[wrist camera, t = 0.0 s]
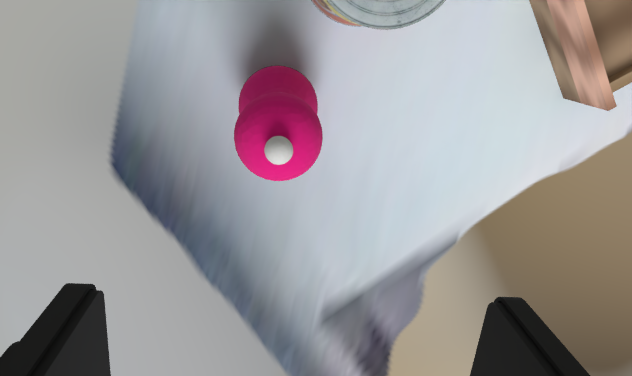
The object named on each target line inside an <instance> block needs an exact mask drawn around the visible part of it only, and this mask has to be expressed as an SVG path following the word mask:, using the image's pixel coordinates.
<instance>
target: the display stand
mask: <svg viewBox="0 0 632 376" xmlns="http://www.w3.org/2000/svg"><path fill="white" fill-rule="evenodd" d="M529 1H530V4H531V6H532V9H533V12H534V15H535V18H536V21H537V24H538V27H539V29H540V32H541V35H542V38H543V41H544V44H545V47H546V49H547V52H548V55H549V58H550V61H551V64H552V67H553V69H554V72H555V75H556V78H557V81H558V84H559V87H560V90H561V92H562V95H563V98H565V99H568V100H572V101H575V102H579V103H582V104H586V105H589V106H593V107H597V108H600V109H604V110H607V111H609V110H611V109H613V108H615V107H616V103H615V100H614V97H613V92H614V91H616V90H618V89H620V88H622V87H624V86H626V85H627V84H629V83H631V82H632V0H529Z"/></svg>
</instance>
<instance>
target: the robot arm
mask: <svg viewBox="0 0 632 376" xmlns="http://www.w3.org/2000/svg"><path fill="white" fill-rule="evenodd" d="M106 327H107V326H106V314H105V302H104V294H103V292H102V291H96V287H95V285H93V284H73V283H71V284H70V283H68V284H66V285H64V286H63V288H62V289H61V290H60V291H59V293H58V294H57V295H56V296H55V298H54V299H53V300H52V302H51V303H50V304H49V305H48V306H47V308H46V309H45V310H44V311H43V313H42V314H41V315H40V317H39V318H38V319H37V320H36V321H35V323H34V324H33V325H32V326H31V328H30V329H29V330H28V331H27V333H26V334H25V335H24V337H23V338H22V339H21V340H20V341H18V342H15V343H13V344H12V345H11V346H10V347H9V348H8V349H7V350H6V351H5V352H4V354H3V355H2V356H1V357H0V376H111V374H110V362H109V351H108V338H107V328H106ZM470 376H590V375H589V374H588V373H587V371H586V370H585V369H584V368H583V367H582V366H581V365H580V364H579V362H578V361H577V360H576V359H575V358H574V357H573V356H572V354H571V353H570V352H569V351H568V350H567V348H566V347H565V346H564V345H563V344H562V343H561V342H560V340H559V339H558V338H557V337H556V336H555V335H554V334H553V332H552V331H551V330H550V329H549V328H548V327H547V326H546V324H545V323H544V322H543V321H542V320H541V319H540V317H539V316H538V315H537V314H536V313H535V312H534V311H533V309H532V308H531V307H530V306H529V305H528V304H527V303H526V301H525V300H523V299H522V298H518V297H498V298H496V299H495V301H494V302H492V303H490V304H489V305H488V308H487V311H486V315H485V319H484V323H483V327H482V330H481V335H480V338H479V342H478V346H477V350H476V354H475V358H474V362H473V366H472V370H471V374H470Z"/></svg>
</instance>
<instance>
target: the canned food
mask: <svg viewBox="0 0 632 376" xmlns="http://www.w3.org/2000/svg"><path fill="white" fill-rule="evenodd" d="M311 1H312V2H313V4H314V5H315V6H316V7H317V8H318V9H319V10H320V11H321V12H322V13H323V14H324V15H326V16H327V17H329V18H330V19H332V20H334V21H336V22H338V23H341V24H344V25H348V26H364V27H368V28H373V29H386V30H388V29H397V28H402V27H406V26H409V25H412V24H414V23H417V22H419V21H421V20H423V19H424V18H426V17H427V16H429V15H430V14H432V13H433V12H434V11H435V10H437V9H438V8H439V7H440V6H441V5H442V4H443V3H444V2H445V1H446V0H311Z"/></svg>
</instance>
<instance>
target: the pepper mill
mask: <svg viewBox="0 0 632 376" xmlns="http://www.w3.org/2000/svg"><path fill="white" fill-rule="evenodd" d="M239 113H240V115H239V117H238V119H237V122H236V125H235V130H234V140H235V147H236V151H237V153H238V156H239V157H240V159H241V161H242V162H243V164H244V165H245V166H246V167H247V168H248V169H249V170H250V171H251V172H253V173H254V174H256V175H257V176H259V177H262V178H264V179H268V180H273V181H284V180H290V179H293V178H296V177H298V176H300V175H302V174H303V173H304V172H306V171H307V170H308V169H309V168H310V167H311V166H312V165H313V164H314V162H315V161H316V159H317V157H318V155H319V153H320V150H321V146H322V127H321V124H320V121H319V118H318V116H317V97H316V93H315V90H314V89H313V87H312V85H311V83H310V82H309V81H308V79H307V78H306V77H305V76H304V75H302V74H301V73H300V72H298V71H296V70H294V69H292V68H289V67H285V66H270V67H266V68H263V69H261V70H259V71H257V72H256V73H254V74H253V75H252V76H251V77H250V78H249V79H248V80H247V81H246V83H245V84H244V86H243V88H242V90H241V93H240V97H239Z"/></svg>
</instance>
